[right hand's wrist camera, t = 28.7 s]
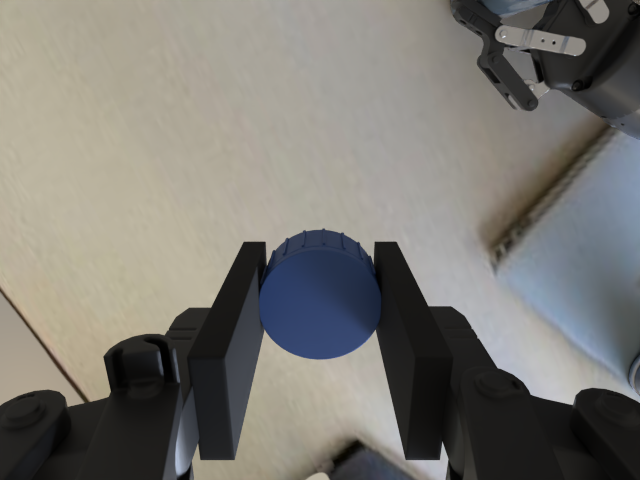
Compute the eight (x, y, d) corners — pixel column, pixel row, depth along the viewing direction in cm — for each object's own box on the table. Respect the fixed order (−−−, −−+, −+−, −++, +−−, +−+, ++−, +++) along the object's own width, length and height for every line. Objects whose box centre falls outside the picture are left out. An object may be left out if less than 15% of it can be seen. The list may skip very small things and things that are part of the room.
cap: (336, 346, 16) (339, 380, 14) (243, 296, 15) (233, 325, 13) (398, 264, 14) (409, 290, 13) (300, 206, 14) (297, 224, 12)
